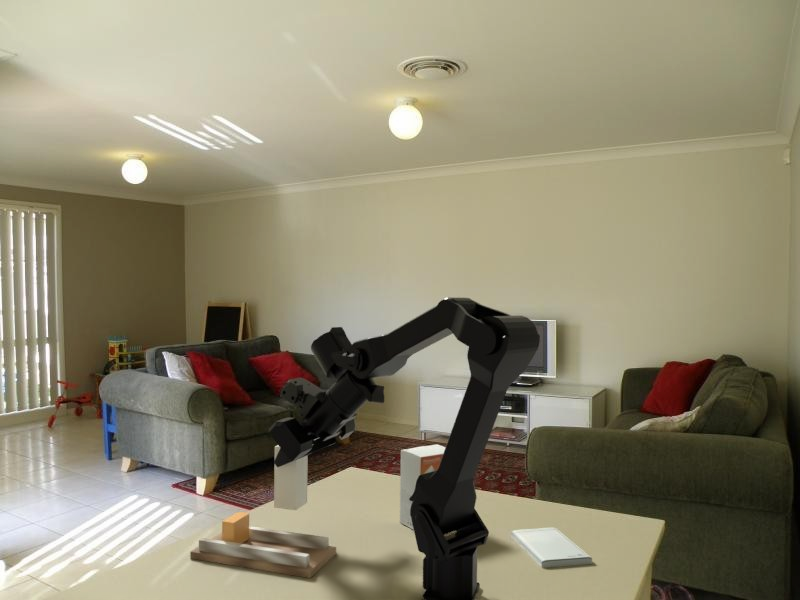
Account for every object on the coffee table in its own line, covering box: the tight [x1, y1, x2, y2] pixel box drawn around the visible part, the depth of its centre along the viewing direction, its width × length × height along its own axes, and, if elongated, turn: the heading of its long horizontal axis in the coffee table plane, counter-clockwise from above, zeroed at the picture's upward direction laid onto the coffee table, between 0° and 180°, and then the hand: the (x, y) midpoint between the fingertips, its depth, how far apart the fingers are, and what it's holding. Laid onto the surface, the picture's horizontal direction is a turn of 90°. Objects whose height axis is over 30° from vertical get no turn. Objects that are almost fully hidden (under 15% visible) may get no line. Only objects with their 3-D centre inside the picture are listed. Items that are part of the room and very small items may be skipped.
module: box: [273, 444, 309, 511], centre depth 104 cm, size 4×4×10 cm
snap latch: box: [221, 511, 250, 544], centre depth 98 cm, size 2×4×4 cm, turn 162°
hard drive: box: [510, 526, 593, 569], centre depth 100 cm, size 2×8×12 cm
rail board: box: [189, 525, 337, 579], centre depth 96 cm, size 20×9×3 cm, turn 72°
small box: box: [399, 443, 446, 531], centre depth 110 cm, size 8×6×13 cm
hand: (283, 461), depth 105 cm, fingers closed on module, 4 cm apart
